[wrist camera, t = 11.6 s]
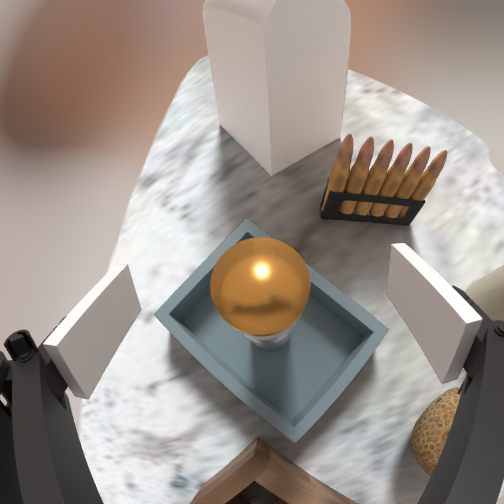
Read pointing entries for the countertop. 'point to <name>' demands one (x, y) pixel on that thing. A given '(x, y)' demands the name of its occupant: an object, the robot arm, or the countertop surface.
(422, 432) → the natural sponge
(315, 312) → the tray
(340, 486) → the countertop surface
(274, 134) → the milk
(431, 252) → the countertop surface
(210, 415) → the countertop surface
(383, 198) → the ammunition clip
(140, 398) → the countertop surface
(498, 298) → the travel mug
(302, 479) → the block
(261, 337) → the pin
